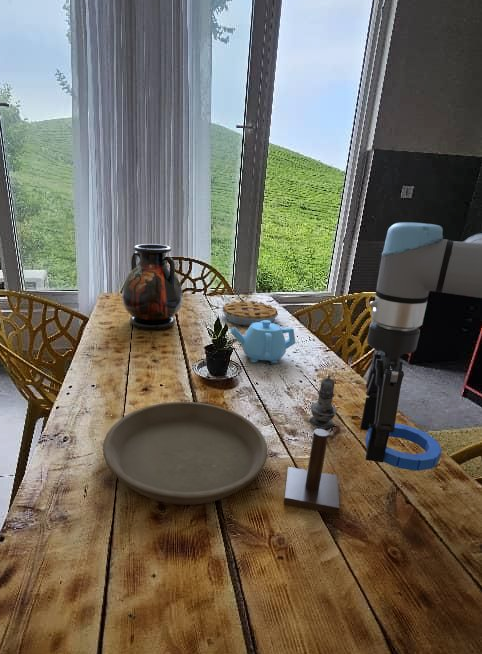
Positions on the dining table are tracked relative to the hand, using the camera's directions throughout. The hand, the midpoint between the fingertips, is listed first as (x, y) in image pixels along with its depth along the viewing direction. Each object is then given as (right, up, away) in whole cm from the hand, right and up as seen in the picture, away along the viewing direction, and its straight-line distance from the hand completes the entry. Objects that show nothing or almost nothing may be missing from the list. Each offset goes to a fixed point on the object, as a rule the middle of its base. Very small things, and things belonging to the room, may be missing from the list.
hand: (370, 443), depth 79 cm
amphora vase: (-48, +27, +84) cm, 100 cm away
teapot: (-12, +15, +58) cm, 61 cm away
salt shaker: (-3, 0, +23) cm, 23 cm away
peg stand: (-11, -9, 0) cm, 14 cm away
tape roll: (+5, -1, -1) cm, 5 cm away
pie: (-11, +30, +95) cm, 100 cm away
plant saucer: (-33, -5, +7) cm, 34 cm away
